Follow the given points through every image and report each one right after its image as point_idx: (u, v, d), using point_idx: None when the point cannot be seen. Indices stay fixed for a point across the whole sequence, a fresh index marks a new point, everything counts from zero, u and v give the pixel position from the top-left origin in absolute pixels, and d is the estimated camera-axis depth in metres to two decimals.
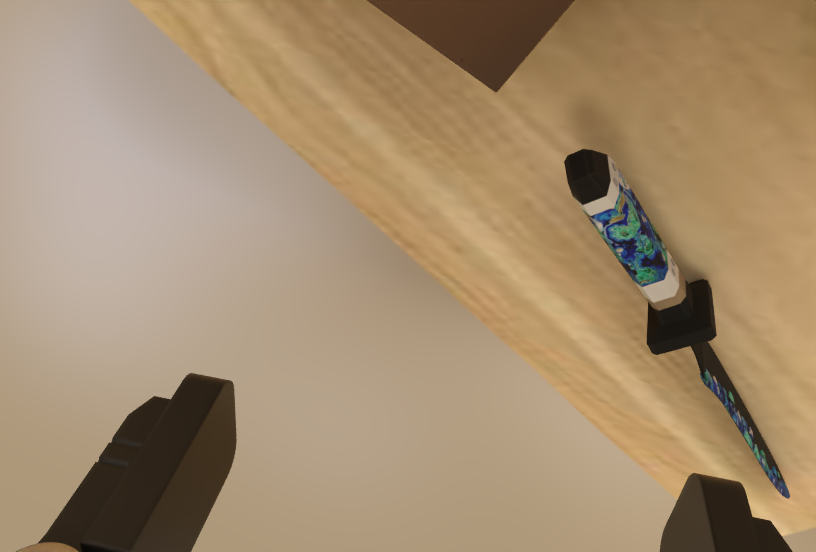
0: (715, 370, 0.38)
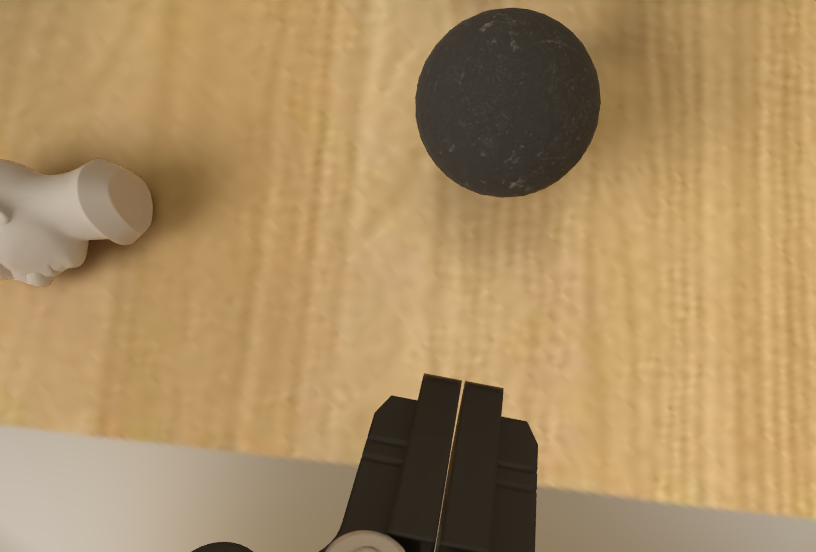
0: None
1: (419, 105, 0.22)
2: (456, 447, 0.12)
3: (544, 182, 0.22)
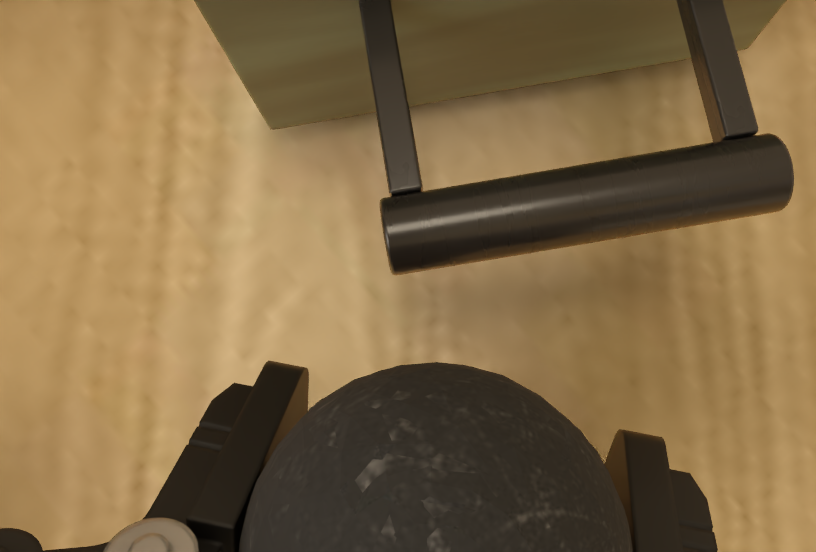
0: None
1: None
2: (633, 506, 0.11)
3: None
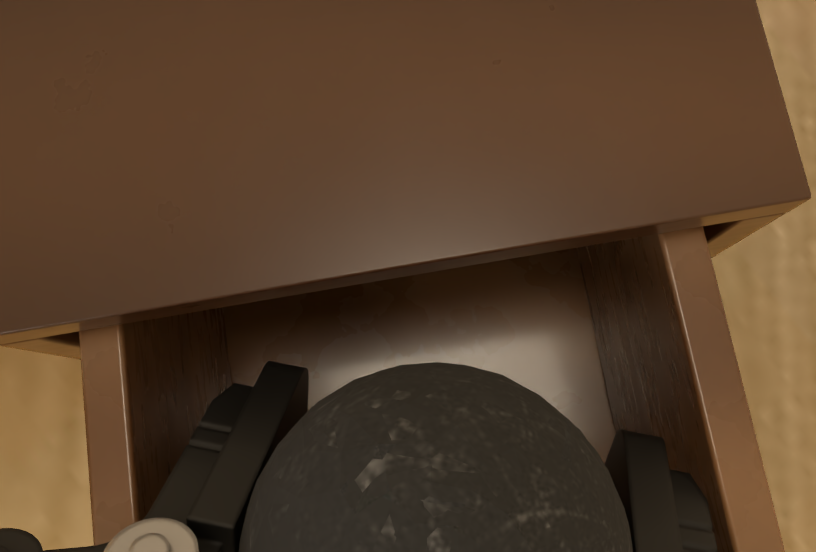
0: None
1: None
2: (633, 506, 0.11)
3: None
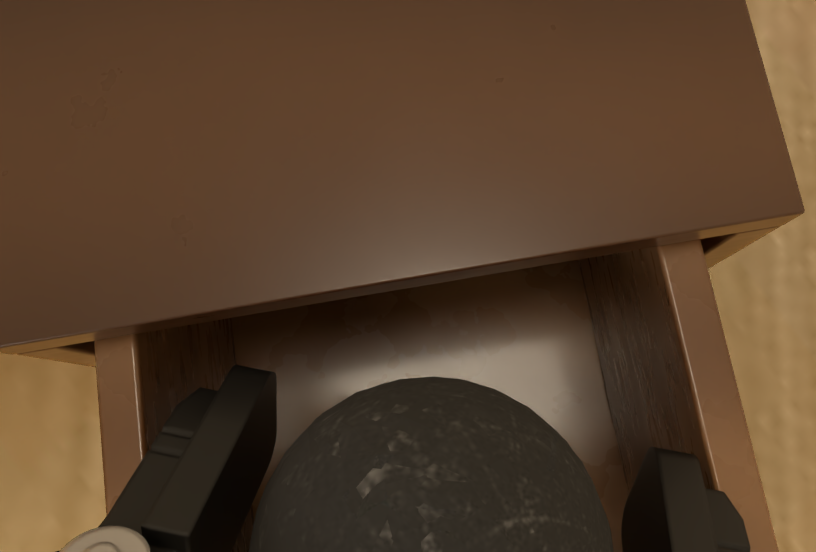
0: None
1: None
2: (670, 528, 0.11)
3: None
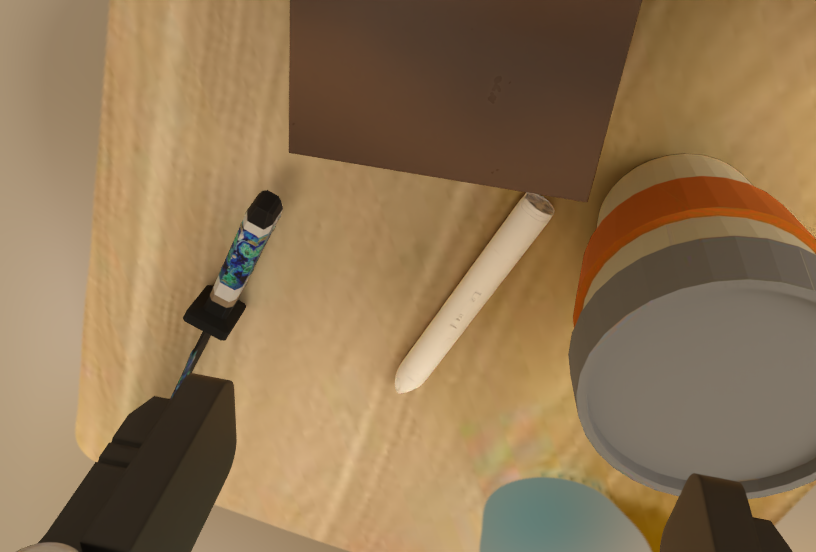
0: (198, 354, 0.51)
1: None
2: None
3: None
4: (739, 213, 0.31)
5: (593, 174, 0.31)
